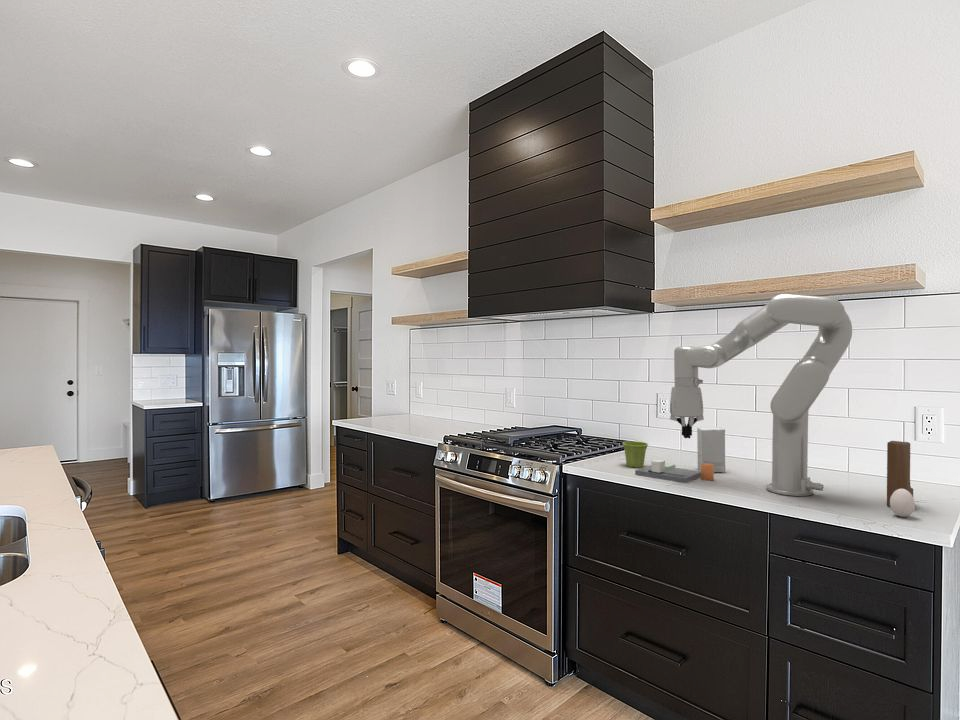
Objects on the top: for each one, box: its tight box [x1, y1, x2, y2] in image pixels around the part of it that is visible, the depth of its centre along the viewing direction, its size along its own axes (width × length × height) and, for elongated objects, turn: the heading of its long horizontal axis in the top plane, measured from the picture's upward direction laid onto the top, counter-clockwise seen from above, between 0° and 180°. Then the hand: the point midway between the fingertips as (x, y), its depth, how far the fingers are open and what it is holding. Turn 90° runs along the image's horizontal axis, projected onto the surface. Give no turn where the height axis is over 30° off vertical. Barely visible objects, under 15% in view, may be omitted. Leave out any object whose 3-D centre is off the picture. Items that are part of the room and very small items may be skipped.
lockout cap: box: [700, 463, 715, 481], centre depth 190 cm, size 4×4×5 cm
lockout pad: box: [665, 462, 676, 470], centre depth 202 cm, size 6×6×1 cm
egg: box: [889, 489, 916, 518], centre depth 146 cm, size 5×5×7 cm
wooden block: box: [886, 440, 914, 508], centre depth 157 cm, size 9×4×18 cm, turn 133°
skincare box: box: [696, 426, 726, 474], centre depth 202 cm, size 8×7×16 cm
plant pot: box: [622, 440, 649, 468], centre depth 211 cm, size 9×9×9 cm
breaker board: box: [634, 465, 701, 484], centre depth 196 cm, size 18×14×2 cm
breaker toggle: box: [650, 459, 666, 473], centre depth 194 cm, size 3×4×4 cm
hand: (686, 437), depth 189 cm, fingers closed
